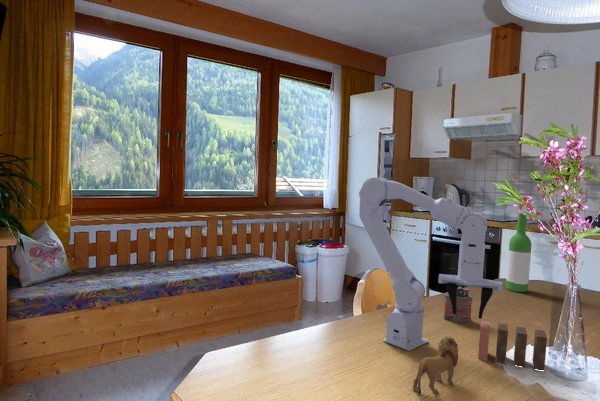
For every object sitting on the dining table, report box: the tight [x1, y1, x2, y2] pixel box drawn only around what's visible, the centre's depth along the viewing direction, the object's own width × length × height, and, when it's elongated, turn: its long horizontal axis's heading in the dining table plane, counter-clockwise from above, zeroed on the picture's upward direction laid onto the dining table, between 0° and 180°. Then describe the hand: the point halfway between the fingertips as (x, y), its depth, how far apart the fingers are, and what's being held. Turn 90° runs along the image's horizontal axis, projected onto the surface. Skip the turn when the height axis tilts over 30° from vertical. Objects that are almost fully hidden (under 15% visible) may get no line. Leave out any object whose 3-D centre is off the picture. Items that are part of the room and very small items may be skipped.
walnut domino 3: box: [532, 328, 548, 371], centre depth 102 cm, size 2×5×8 cm, turn 156°
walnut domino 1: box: [495, 322, 509, 365], centre depth 105 cm, size 2×5×8 cm, turn 157°
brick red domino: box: [477, 319, 491, 362], centre depth 107 cm, size 2×5×8 cm, turn 156°
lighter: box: [442, 286, 474, 323], centre depth 133 cm, size 8×3×10 cm, turn 84°
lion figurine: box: [412, 336, 459, 397], centre depth 91 cm, size 15×5×9 cm, turn 138°
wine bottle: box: [505, 212, 532, 293], centre depth 169 cm, size 8×8×30 cm
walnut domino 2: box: [513, 325, 528, 368], centre depth 104 cm, size 2×5×8 cm, turn 156°
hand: (467, 315), depth 108 cm, fingers open, 5 cm apart
